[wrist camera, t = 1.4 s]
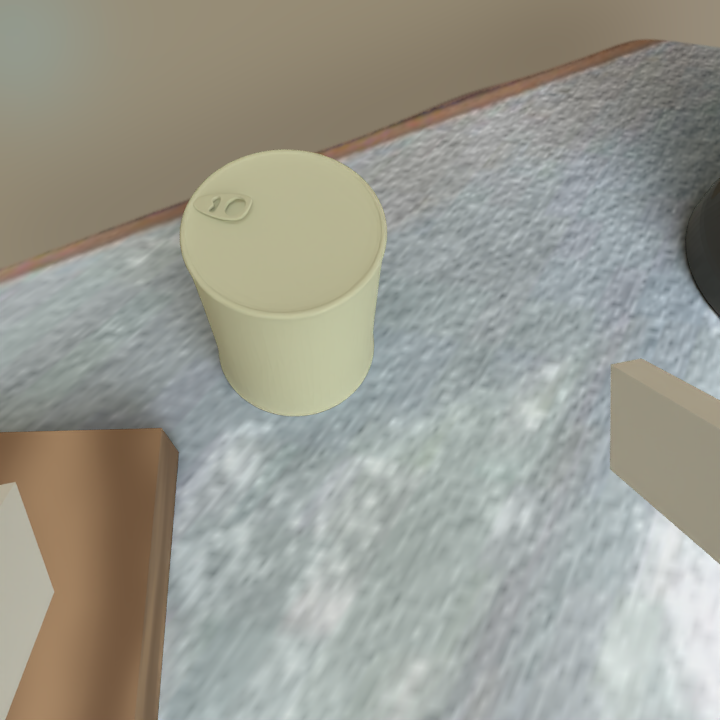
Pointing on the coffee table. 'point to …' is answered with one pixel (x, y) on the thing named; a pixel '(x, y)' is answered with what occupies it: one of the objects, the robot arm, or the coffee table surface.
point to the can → (288, 276)
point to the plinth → (96, 568)
